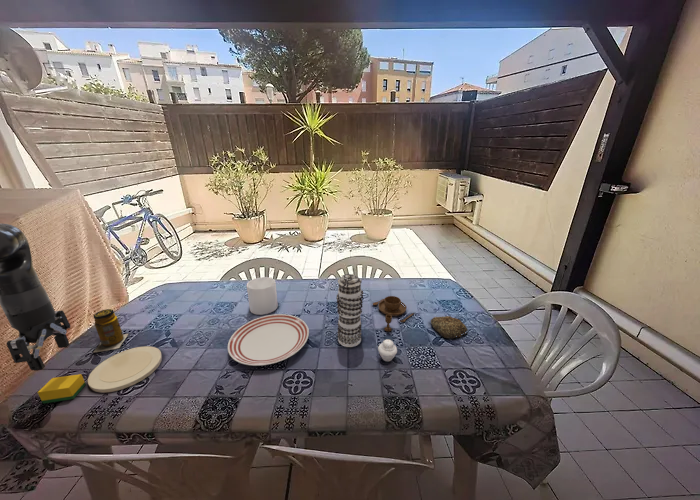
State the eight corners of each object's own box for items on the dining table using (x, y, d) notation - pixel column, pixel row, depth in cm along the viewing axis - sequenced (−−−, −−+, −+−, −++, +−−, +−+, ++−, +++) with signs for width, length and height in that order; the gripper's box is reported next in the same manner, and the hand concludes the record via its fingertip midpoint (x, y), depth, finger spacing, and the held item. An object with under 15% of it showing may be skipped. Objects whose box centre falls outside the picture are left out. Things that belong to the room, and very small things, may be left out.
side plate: (72, 397, 75) (71, 394, 74) (111, 353, 91) (110, 350, 91) (146, 386, 78) (145, 383, 78) (170, 345, 95) (170, 342, 94)
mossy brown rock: (442, 341, 98) (443, 329, 96) (426, 321, 109) (427, 310, 107) (473, 336, 100) (476, 325, 98) (455, 317, 111) (457, 307, 110)
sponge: (42, 403, 73) (37, 392, 71) (57, 388, 77) (52, 377, 76) (73, 399, 74) (68, 387, 73) (86, 384, 79) (81, 373, 77)
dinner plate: (236, 385, 79) (234, 376, 77) (223, 334, 101) (222, 327, 100) (322, 352, 92) (321, 344, 91) (294, 313, 114) (293, 306, 113)
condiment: (128, 333, 101) (119, 305, 97) (119, 348, 93) (109, 318, 89) (104, 338, 99) (94, 309, 94) (93, 353, 91) (81, 323, 87)
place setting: (417, 312, 115) (418, 300, 113) (390, 333, 102) (390, 319, 100) (384, 297, 127) (384, 286, 125) (355, 315, 113) (355, 302, 111)
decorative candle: (367, 342, 97) (369, 279, 89) (345, 351, 92) (345, 285, 84) (353, 328, 104) (354, 269, 96) (332, 336, 100) (331, 275, 91)
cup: (246, 305, 120) (243, 281, 116) (272, 298, 126) (270, 274, 122) (254, 318, 111) (250, 292, 107) (281, 309, 117) (279, 284, 113)
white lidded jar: (398, 354, 91) (399, 337, 89) (394, 367, 86) (395, 349, 83) (380, 349, 93) (381, 332, 91) (375, 361, 88) (376, 344, 85)
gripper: (33, 292, 72) (56, 342, 78) (-22, 323, 59) (10, 380, 65) (66, 289, 74) (86, 338, 80) (20, 319, 61) (48, 375, 67)
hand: (52, 357), depth 72 cm, fingers open, 8 cm apart
